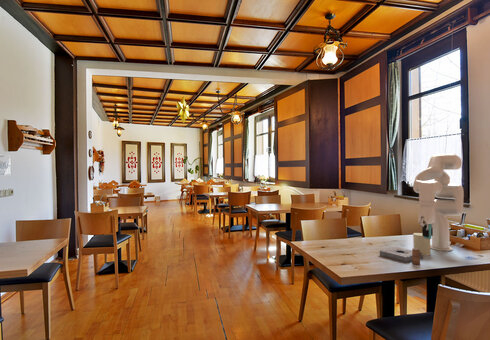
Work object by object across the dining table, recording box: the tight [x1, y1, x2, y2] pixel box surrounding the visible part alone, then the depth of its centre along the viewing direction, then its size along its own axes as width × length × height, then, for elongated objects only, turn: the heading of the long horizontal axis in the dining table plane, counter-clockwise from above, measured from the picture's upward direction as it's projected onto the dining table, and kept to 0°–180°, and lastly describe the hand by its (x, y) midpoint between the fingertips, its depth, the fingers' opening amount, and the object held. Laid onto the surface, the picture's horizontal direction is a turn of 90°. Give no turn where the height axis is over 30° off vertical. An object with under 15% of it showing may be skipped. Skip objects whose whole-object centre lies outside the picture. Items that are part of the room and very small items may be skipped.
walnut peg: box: [411, 247, 421, 266], centre depth 156 cm, size 4×4×8 cm
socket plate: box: [379, 246, 423, 264], centre depth 170 cm, size 16×16×3 cm
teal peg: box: [424, 223, 432, 240], centre depth 163 cm, size 4×4×8 cm
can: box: [412, 232, 431, 256], centre depth 177 cm, size 9×9×12 cm
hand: (427, 235), depth 163 cm, fingers closed on teal peg, 3 cm apart
